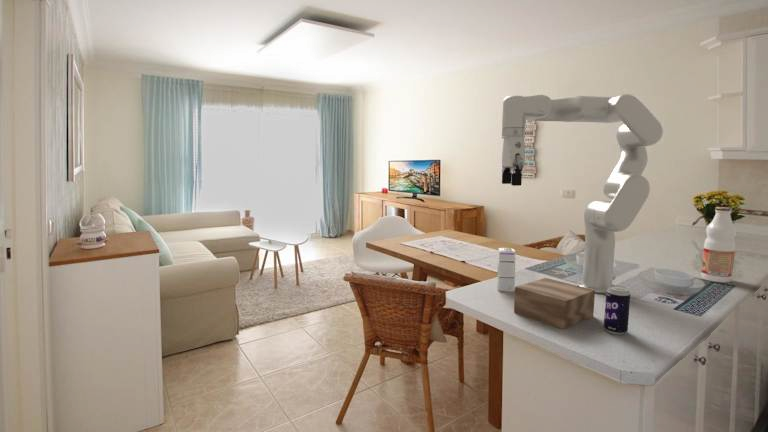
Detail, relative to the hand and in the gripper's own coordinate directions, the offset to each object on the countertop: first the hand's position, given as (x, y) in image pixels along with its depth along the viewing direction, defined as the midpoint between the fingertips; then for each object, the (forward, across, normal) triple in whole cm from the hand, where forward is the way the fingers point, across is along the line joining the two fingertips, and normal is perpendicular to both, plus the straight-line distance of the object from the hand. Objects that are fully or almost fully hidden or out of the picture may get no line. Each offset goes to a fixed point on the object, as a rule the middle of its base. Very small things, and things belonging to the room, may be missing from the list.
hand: (511, 184), depth 144 cm
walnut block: (+37, -24, -6) cm, 45 cm away
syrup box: (+38, 0, 0) cm, 38 cm away
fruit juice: (+38, +9, -85) cm, 93 cm away
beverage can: (+38, -37, -17) cm, 56 cm away
